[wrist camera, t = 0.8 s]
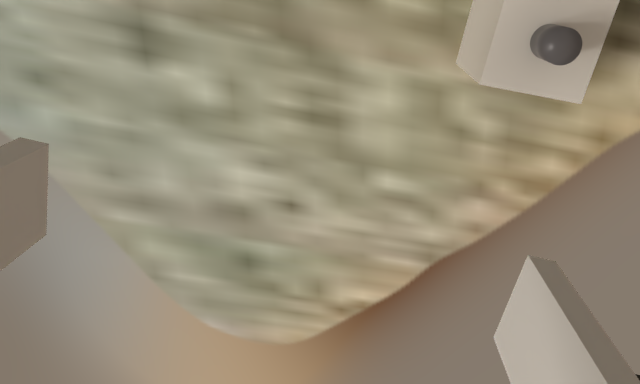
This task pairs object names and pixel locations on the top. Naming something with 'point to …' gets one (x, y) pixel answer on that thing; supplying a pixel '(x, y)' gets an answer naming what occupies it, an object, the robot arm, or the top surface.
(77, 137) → the top surface
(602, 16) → the plug
